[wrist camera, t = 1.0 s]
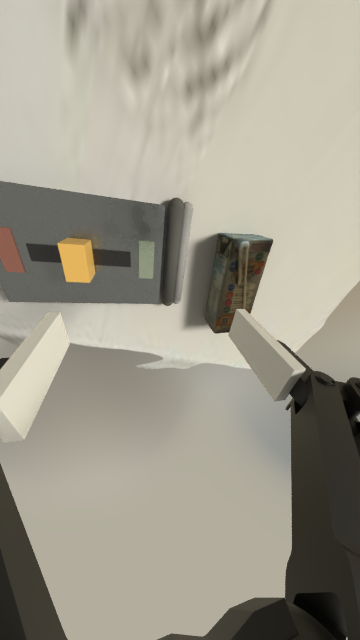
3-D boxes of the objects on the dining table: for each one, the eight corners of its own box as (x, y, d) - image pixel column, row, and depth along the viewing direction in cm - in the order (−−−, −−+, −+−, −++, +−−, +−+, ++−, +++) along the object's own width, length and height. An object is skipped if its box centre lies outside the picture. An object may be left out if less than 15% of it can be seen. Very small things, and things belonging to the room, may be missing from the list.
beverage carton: (256, 232, 33) (279, 239, 28) (233, 317, 44) (247, 334, 39) (217, 231, 32) (233, 237, 27) (203, 319, 42) (213, 336, 37)
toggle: (67, 237, 25) (57, 243, 22) (90, 239, 26) (84, 245, 22) (74, 272, 28) (66, 281, 24) (95, 273, 28) (90, 282, 25)
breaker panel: (-27, 177, 22) (-49, 174, 20) (162, 205, 28) (165, 205, 25) (19, 293, 31) (8, 302, 28) (157, 296, 36) (158, 304, 34)
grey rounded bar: (168, 196, 27) (170, 196, 25) (192, 200, 28) (196, 200, 26) (160, 302, 37) (162, 307, 35) (178, 302, 38) (180, 308, 36)
